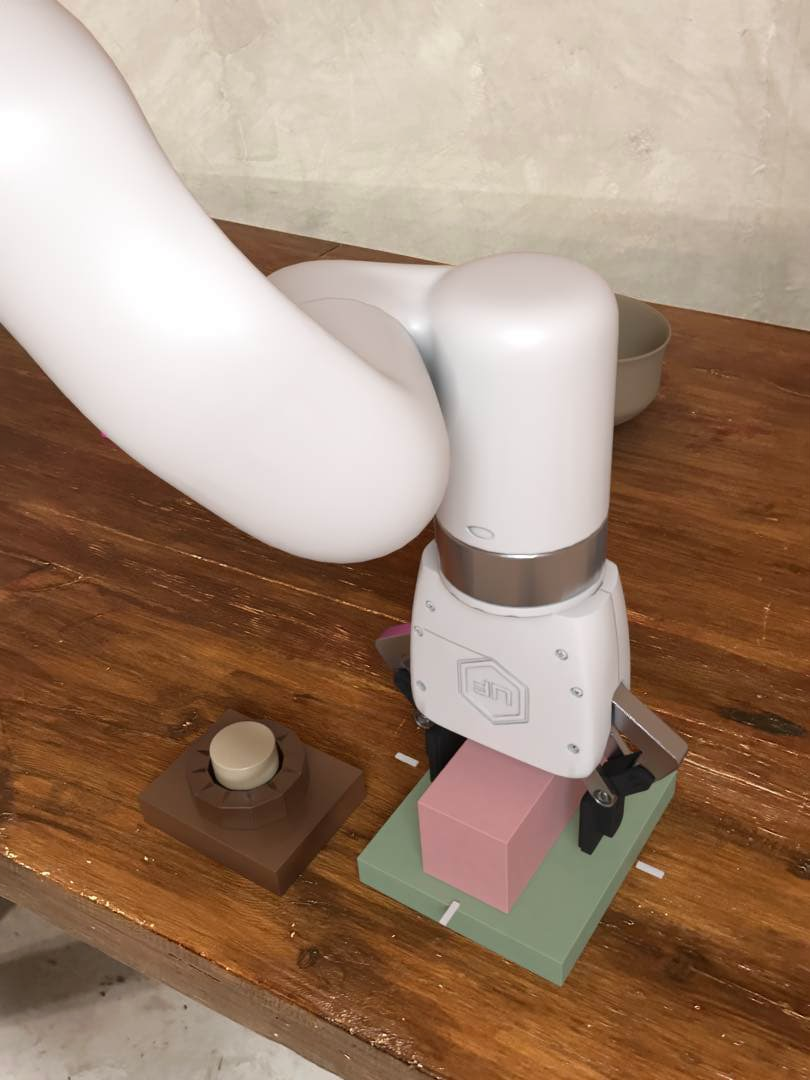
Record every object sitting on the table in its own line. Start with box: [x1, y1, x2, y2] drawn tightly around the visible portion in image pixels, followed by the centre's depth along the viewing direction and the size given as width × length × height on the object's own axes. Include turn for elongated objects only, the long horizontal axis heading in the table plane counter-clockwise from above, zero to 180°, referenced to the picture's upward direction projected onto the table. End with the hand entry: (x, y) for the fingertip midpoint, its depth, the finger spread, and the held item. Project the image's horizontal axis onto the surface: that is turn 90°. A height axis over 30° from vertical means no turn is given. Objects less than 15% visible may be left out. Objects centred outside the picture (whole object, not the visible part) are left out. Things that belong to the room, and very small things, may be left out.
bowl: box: [614, 292, 673, 428], centre depth 93 cm, size 13×13×10 cm
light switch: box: [136, 708, 367, 898], centre depth 63 cm, size 8×10×4 cm
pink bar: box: [417, 738, 607, 914], centre depth 59 cm, size 12×5×6 cm, turn 147°
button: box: [210, 721, 279, 791], centre depth 62 cm, size 4×4×2 cm
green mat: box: [356, 751, 678, 988], centre depth 61 cm, size 16×16×2 cm
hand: (521, 798), depth 60 cm, fingers open, 8 cm apart
